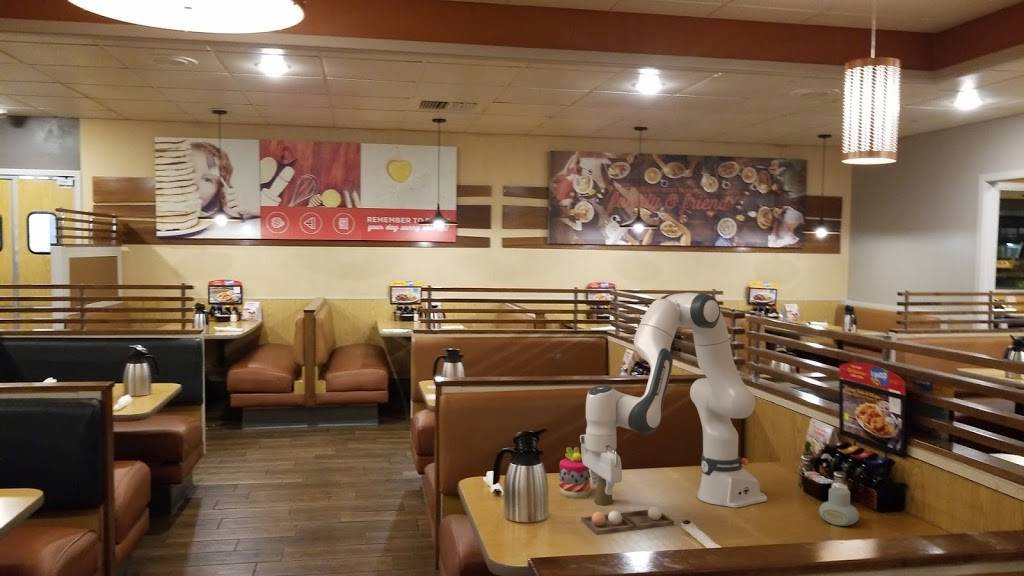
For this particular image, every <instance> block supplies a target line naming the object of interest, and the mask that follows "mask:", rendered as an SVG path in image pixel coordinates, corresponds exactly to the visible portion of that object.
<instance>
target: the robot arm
mask: <svg viewBox="0 0 1024 576" xmlns="http://www.w3.org/2000/svg"><path fill="white" fill-rule="evenodd" d="M720 306H721V305H720V304H719V301H718V300H717V298H716V297H714V295H710V294H708V293H705V292H703V293H701V292H700V293H699V292H698V293H697V292H683V293H669V294H666V295H663V296H662V297H660V298H658V299H656V300H654V301H653V302H652V303H651V304H650V305H649V307H648V309H647V310H646V311H645V313H644V315H643V316H642V319H641V320H640V323H639V324H638V326H637V329H636V331H635V334H634V338H633V346H634V348H635V351H636V353H637V354H638V355H639V356H640V357H641V358H642V359H643V360H644V361H645V362H647V363H648V365H649V367H650V373H649V376H648V381H647V384H646V387H645V391H644V394H643V395H642V396H641V397H639V396H633V395H631V394H627V393H624V392H623V393H622V392H620V391H618V390H616V389H614V387H613V386H612V385H607V384H602V385H595V386H593V387H591V388H590V389H589V390H588V392H587V395H586V399H585V400H586V401H585V419H586V428H585V434H580V436H579V441H580V443H581V445H580V450H581V451H580V452H581V453H580V454H582V462H583V464H584V465H585V466H586V467H588V468H589V473H590V476H591V477H590V484H592V485H594V486H597V484H598V483H599V482H598V481H599V479H598V478H597V474H598V475H599V476H601V477H602V478H604V479H605V480H606V483H607V485H606V487H605V493H606V494H607V495H612V496H613V488H614V487H615V484H617V483H621V482H622V479H623V472H622V471H623V470H622V469H623V468H622V462H621V461H622V460H621V457H620V455H619V454H618V453H617V450H616V449H617V428H618V427H621V428H624V429H628V430H630V431H633V432H636V433H637V434H641V435H643V436H644V435H645V436H646V435H647V436H648V435H650V434H652V433H653V432H655V431H656V429H658V428H659V426H660V424H661V422H662V419H663V418H662V416H663V407H664V401H665V398H666V393H667V391H668V390H667V389H668V385H669V381H670V377H671V374H672V368H673V361H674V358H673V357H674V356H673V355H672V352H671V349H672V348H671V347H672V343H673V340H674V338H675V336H676V332H677V329H678V328H683V329H690V328H691V329H692V334H693V335H692V337H693V343H694V348H695V355H696V360H697V361H696V362H697V365H698V367H699V369H700V370H701V372H702V373H703V374H704V375H705V377H702V378H698V379H696V380H694V382H693V383H692V385H691V386H690V391H689V396H690V399H691V401H692V402H693V404H694V406H695V408H696V409H697V413H698V415H699V419H700V423H701V428H702V450H703V451H702V454H701V463H700V465H701V466H700V467H701V479H700V483H699V489H698V491H697V495H696V497H697V499H699V500H700V501H703V502H704V503H707V504H710V505H711V504H712V505H715V506H726V507H729V508H734V509H735V508H742V507H746V506H750V505H751V506H752V505H754V504H759V503H763V502H768V497H767V496H766V495H765V493H763V492H761V491H760V490H761V489H760V483H759V481H758V479H757V478H755V476H753V475H752V474H751V473H749V472H748V471H747V470H746V469H745V468H744V467H743V465H744V466H748V465H749V463H750V461H749V459H747V458H745V457H740V456H739V433H738V431H737V430H736V427H734V424H733V422H732V420H731V419H746V418H748V417H750V416H751V415H752V414H753V412H754V410H755V407H756V398H755V395H754V393H753V392H752V390H750V389H749V388H748V386H747V385H746V384H745V383H744V381H743V379H742V377H741V375H740V373H739V371H738V369H737V366H736V364H735V361H734V358H733V357H734V355H733V353H732V347H731V342H730V336H729V331H728V327H727V323H726V321H725V318H724V315H723V313H722V311H721V307H720Z"/></svg>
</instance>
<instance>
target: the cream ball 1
mask: <svg viewBox="0 0 1024 576" xmlns="http://www.w3.org/2000/svg"><path fill="white" fill-rule="evenodd" d="M620 513H621V512H620V511H618V510H611V511H610V512H609V513H608V514H609V515H608V520H609V522H610V523H611V524H613V525H618V524H619V523H620V522H621V520H622V516H621V514H620Z"/></svg>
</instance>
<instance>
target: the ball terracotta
mask: <svg viewBox="0 0 1024 576" xmlns="http://www.w3.org/2000/svg"><path fill="white" fill-rule="evenodd" d="M591 516H592V522H593V523H594V525H596V526H602V525H603V524H604V523H605V520H606V518H605V515H604V512H601V511H595V512H594V513H593V514H592V515H591Z"/></svg>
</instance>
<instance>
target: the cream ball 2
mask: <svg viewBox="0 0 1024 576" xmlns="http://www.w3.org/2000/svg"><path fill="white" fill-rule="evenodd" d="M648 509H649V510H648ZM648 509H647V510H648V516H649V518H650V519H652V520H658V519H660V517H661V513H662V510H661V509H660V507H658V506H651V507H649V508H648Z"/></svg>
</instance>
